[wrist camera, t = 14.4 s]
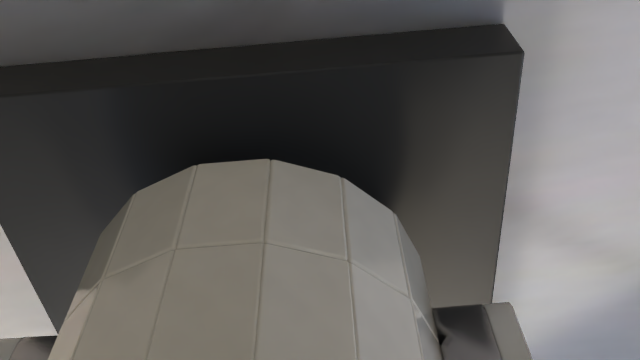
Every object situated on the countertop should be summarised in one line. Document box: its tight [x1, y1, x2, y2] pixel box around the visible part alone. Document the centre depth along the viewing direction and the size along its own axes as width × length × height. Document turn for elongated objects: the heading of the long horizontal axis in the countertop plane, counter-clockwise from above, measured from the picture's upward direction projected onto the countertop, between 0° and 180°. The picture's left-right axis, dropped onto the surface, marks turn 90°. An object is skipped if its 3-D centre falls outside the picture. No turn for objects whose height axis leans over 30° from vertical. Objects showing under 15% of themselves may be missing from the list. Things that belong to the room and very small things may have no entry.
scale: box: [0, 24, 524, 334], centre depth 15 cm, size 14×11×3 cm
